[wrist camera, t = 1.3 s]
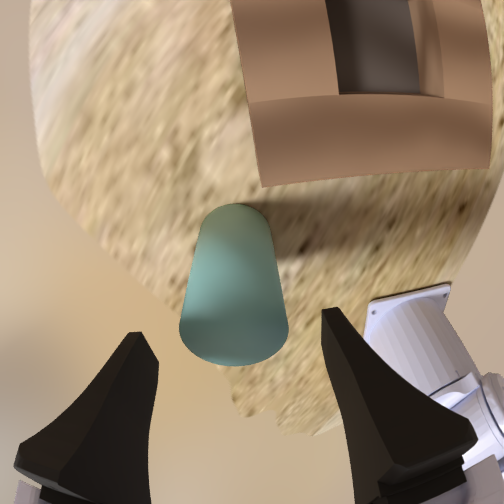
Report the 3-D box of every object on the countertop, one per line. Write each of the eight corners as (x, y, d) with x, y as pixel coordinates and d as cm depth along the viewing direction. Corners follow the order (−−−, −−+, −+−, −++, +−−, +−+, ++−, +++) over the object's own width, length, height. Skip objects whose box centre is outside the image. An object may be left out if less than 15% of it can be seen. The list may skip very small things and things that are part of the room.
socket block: (461, 154, 16) (489, 168, 13) (258, 169, 16) (261, 187, 14) (441, -35, 8) (467, -44, 6) (219, -55, 9) (215, -79, 6)
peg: (274, 261, 20) (291, 359, 13) (208, 270, 20) (196, 369, 13) (266, 198, 17) (284, 283, 10) (192, 210, 17) (164, 299, 11)
